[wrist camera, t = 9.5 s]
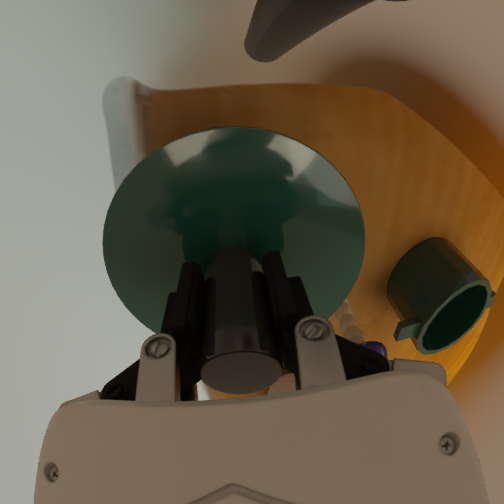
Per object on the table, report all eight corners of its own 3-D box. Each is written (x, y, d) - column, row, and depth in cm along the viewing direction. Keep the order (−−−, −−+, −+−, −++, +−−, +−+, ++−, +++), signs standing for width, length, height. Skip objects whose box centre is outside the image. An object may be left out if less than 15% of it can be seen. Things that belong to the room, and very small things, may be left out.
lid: (78, 159, 11) (-20, 226, 5) (362, 116, 11) (473, 153, 5) (154, 348, 18) (140, 438, 12) (344, 324, 18) (379, 411, 12)
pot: (378, 246, 30) (417, 298, 22) (473, 231, 31) (512, 268, 23) (363, 319, 37) (387, 370, 29) (451, 295, 37) (479, 333, 29)
